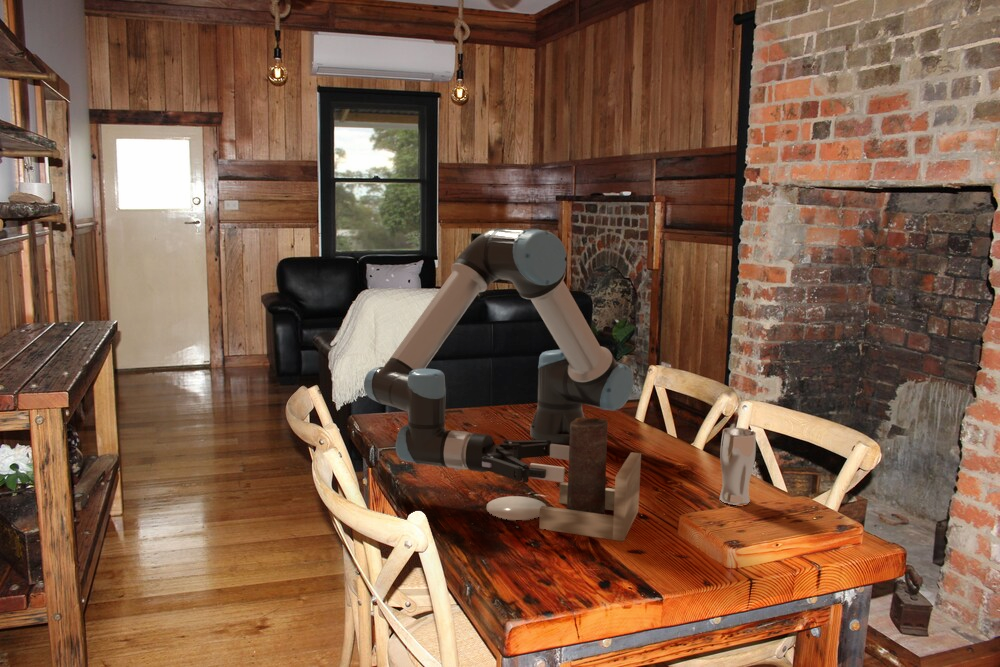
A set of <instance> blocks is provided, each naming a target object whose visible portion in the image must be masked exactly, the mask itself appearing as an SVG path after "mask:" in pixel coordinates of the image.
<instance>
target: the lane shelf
mask: <svg viewBox="0 0 1000 667" xmlns="http://www.w3.org/2000/svg"><path fill="white" fill-rule="evenodd" d="M641 463H642V453H641V452H640V453H639V452H631V451H630V453H629V455H628V456H627V458H626V459H625V461H624V462H623V464H622V466H621V467H620V468H619V471H618V472H617V473H616V475H615V479H614V480H615V482H614V488H610V487H605V510H607V511H613V515H611V514H605V515H604V514H597V513H590V512H583V511H576V510H569V509H567V508H562V507H561V508H560V507H555V506H554V507H553V506H547V505H546V506H541V508H540V517H539V519H538V520H539V524H538V525H539V526H538V527H539V528H538V529H540V530H544V529H546V531H550V532H551V531H552V532H560V533H565V534H572V535H579V536H585V537H591V538H593V537H594V538H598V539H604V540H605V539H606V540H612V541H619V542H625V540H626V537H627V535H628V533H629V532H630V529H631V527H632V525H633V523H634V521H635V519H636V517H637V515H638V513H639V505H640V504H639V503H640V483H641ZM567 494H568V482H565V481H564V482H559V494H558V495H559V496H558V498H559V499H558V502H559V504H562V505H567Z"/></svg>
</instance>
